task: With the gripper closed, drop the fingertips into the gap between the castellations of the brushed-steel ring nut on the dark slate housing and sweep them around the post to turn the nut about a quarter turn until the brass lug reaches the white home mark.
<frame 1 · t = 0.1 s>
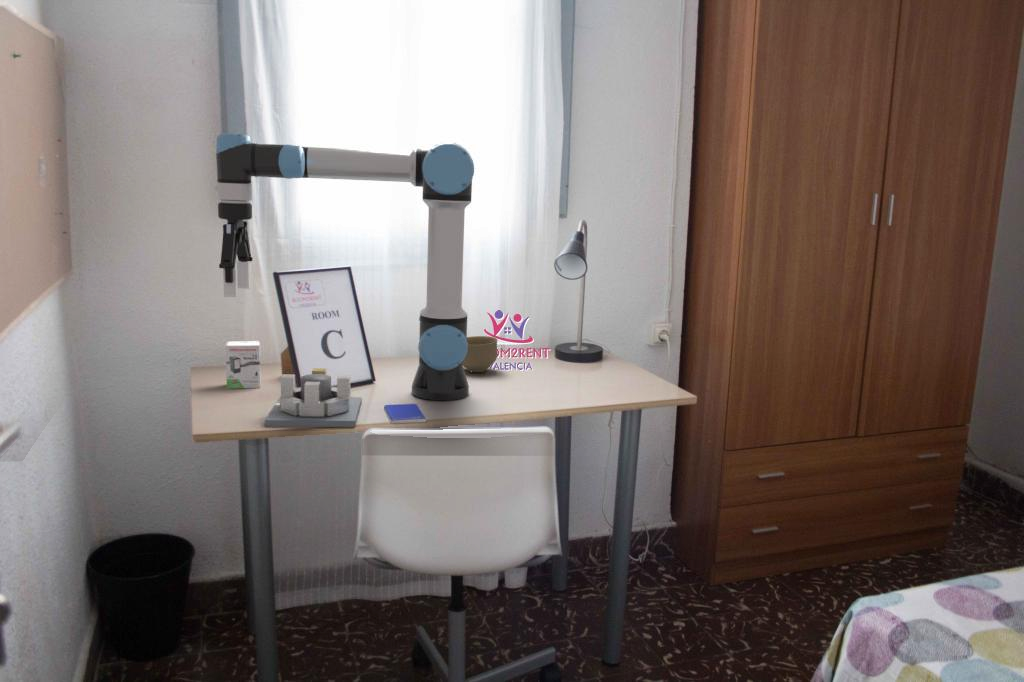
hand: (237, 292, 195), 28 cm above the table, fingers open, 13 cm apart
ink box: (243, 386, 218), on the table
hard drive: (404, 418, 198), on the table
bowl: (475, 372, 244), on the table
ring nut: (316, 391, 195), point 6 cm above the table, hinge at 0.0°
housing: (316, 414, 196), on the table
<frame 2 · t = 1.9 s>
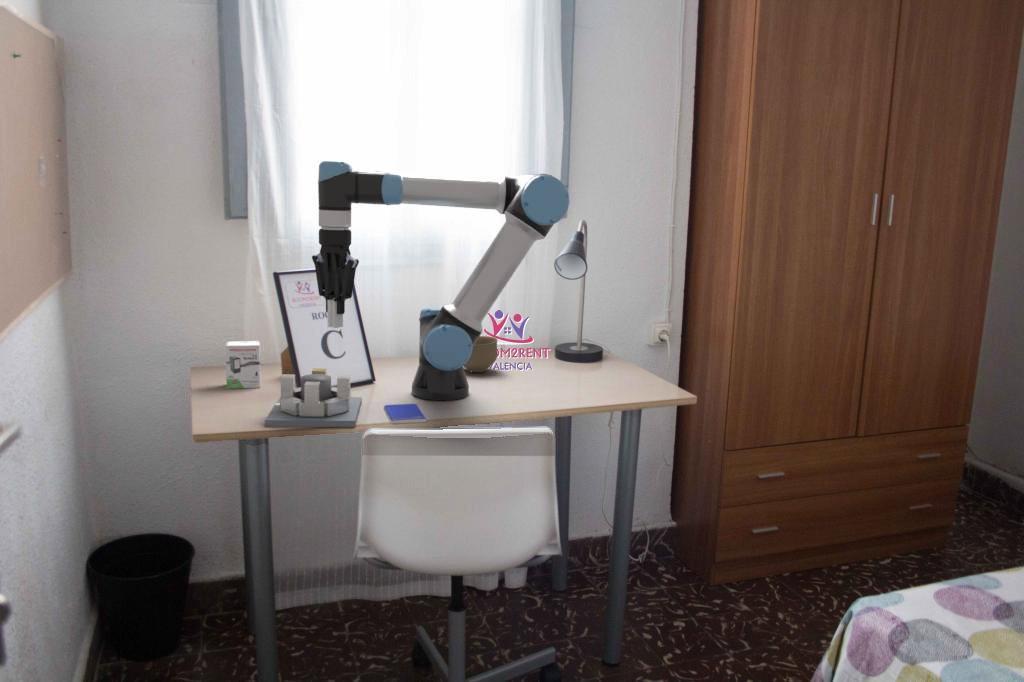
hand: (335, 326, 197), 20 cm above the table, fingers closed
nothing on the table moved.
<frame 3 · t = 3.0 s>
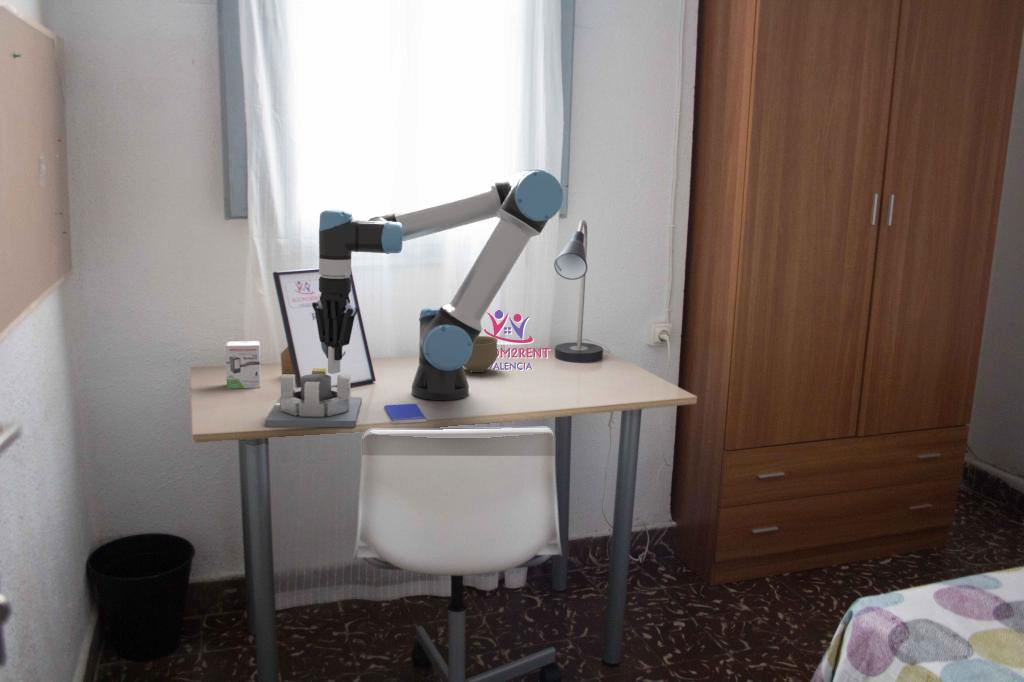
hand: (334, 372, 199), 9 cm above the table, fingers closed
nothing on the table moved.
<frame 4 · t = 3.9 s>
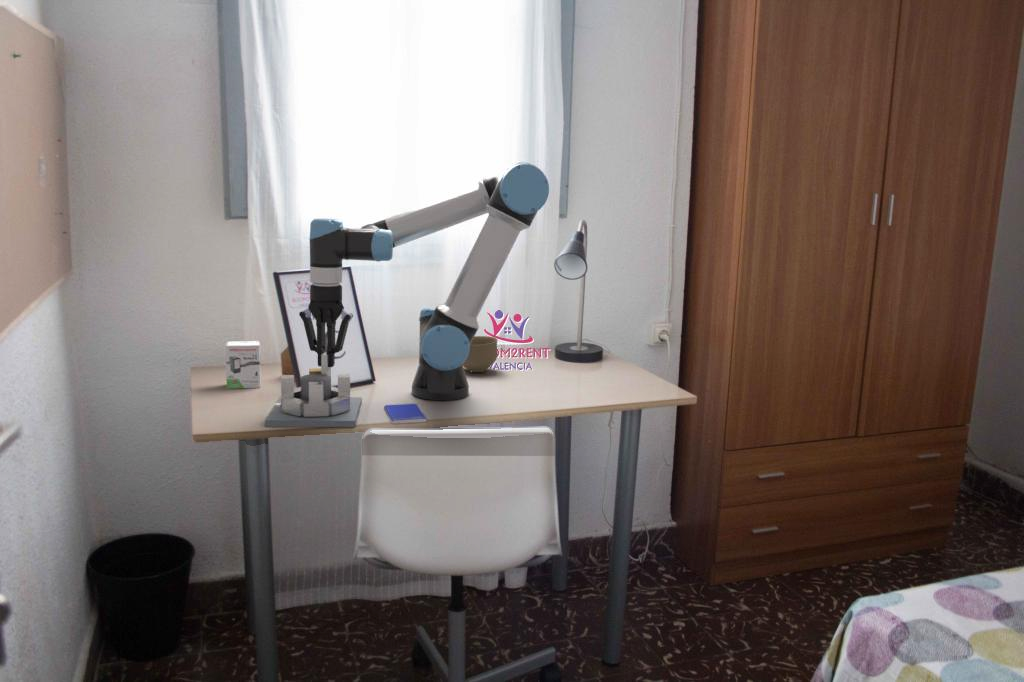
hand: (326, 379, 200), 7 cm above the table, fingers closed
ring nut: (316, 391, 195), point 6 cm above the table, hinge at 7.4°, touching gripper
everything else where it was.
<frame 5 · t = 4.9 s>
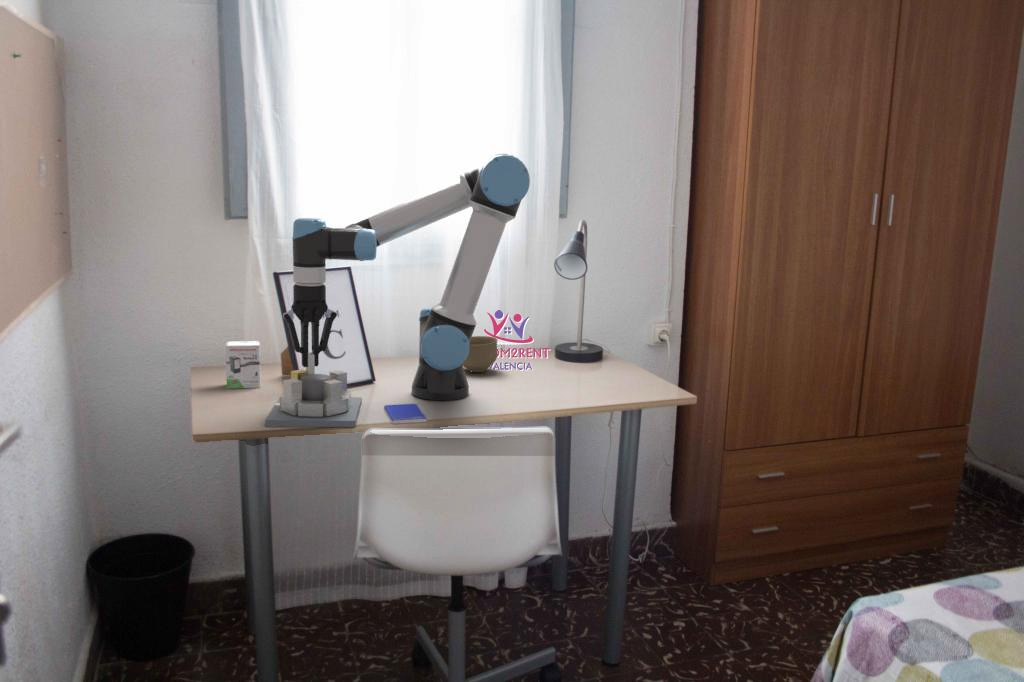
hand: (310, 379, 200), 7 cm above the table, fingers closed
ring nut: (316, 391, 195), point 6 cm above the table, hinge at 43.1°, touching gripper
everything else where it was.
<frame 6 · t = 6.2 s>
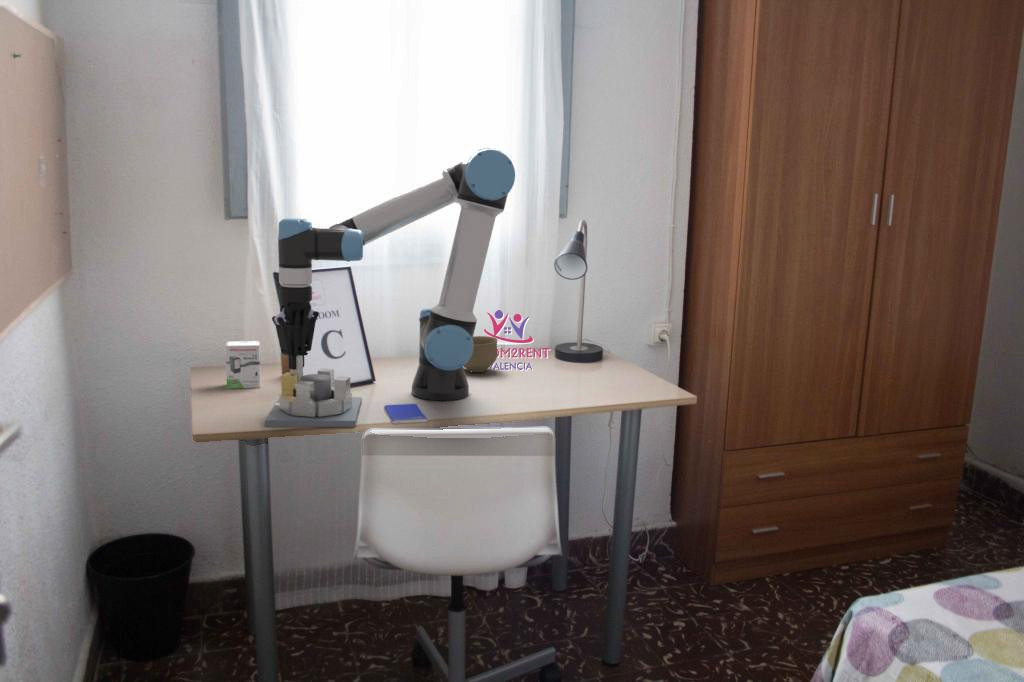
hand: (296, 381, 198), 7 cm above the table, fingers closed
ring nut: (316, 391, 195), point 6 cm above the table, hinge at 75.8°, touching gripper
everything else where it was.
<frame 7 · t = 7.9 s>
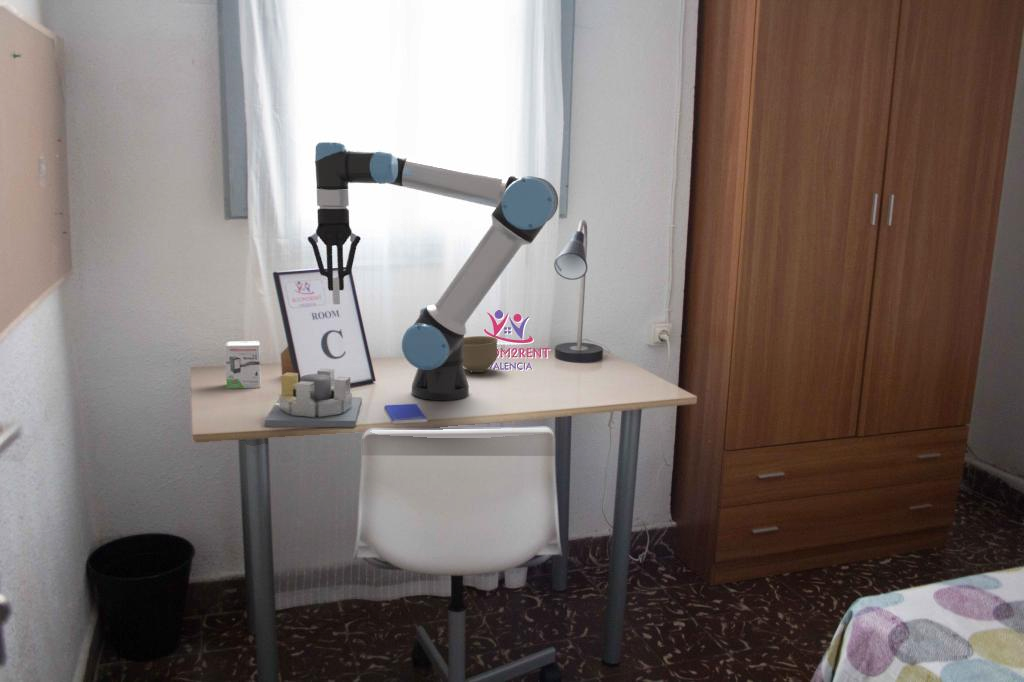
hand: (336, 303, 204), 25 cm above the table, fingers closed
ring nut: (316, 391, 195), point 6 cm above the table, hinge at 75.8°
everything else where it was.
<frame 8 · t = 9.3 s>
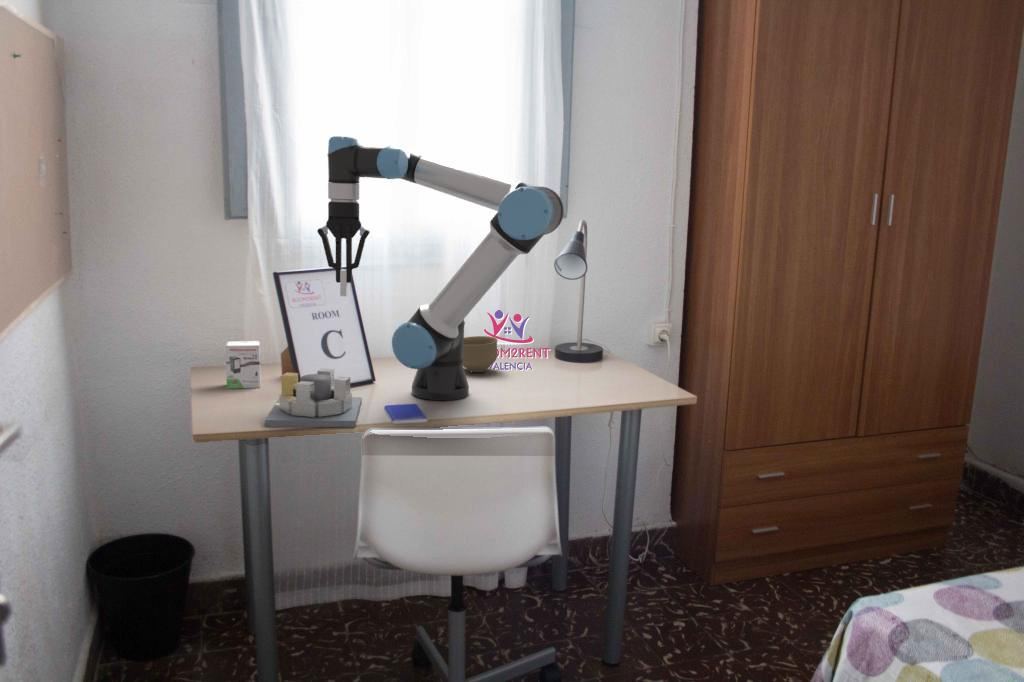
hand: (343, 295, 207), 26 cm above the table, fingers closed
nothing on the table moved.
at the end: ring nut at +76° (first picture: +0°) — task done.
